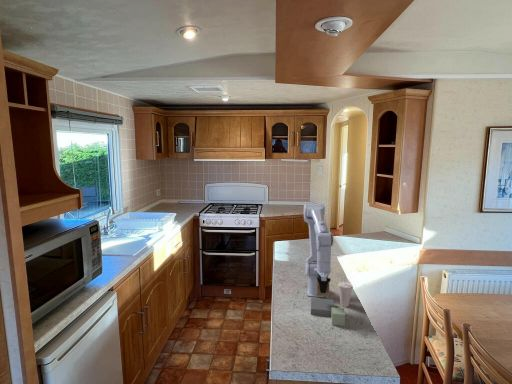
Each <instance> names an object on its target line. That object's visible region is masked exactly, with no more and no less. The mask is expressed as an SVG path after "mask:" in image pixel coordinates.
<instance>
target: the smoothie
mask: <svg viewBox="0 0 512 384" xmlns="http://www.w3.org/2000/svg"><path fill="white" fill-rule="evenodd" d="M337 287H338V293H339V303H340V306H341V307H342V308H347V307H349V306H350V302H351V295H352V290H353V287H354V286H353V284H352V283H351V282H348V281H346V274H344V275H343V281H339V282H338V283H337Z"/></svg>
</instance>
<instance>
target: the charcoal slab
mask: <svg viewBox="0 0 512 384" xmlns="http://www.w3.org/2000/svg"><path fill="white" fill-rule="evenodd" d="M310 299H311V301H310V315H312V316H322V315H323V317H331V311H332V307H334V308H335V301H334V299H331V298H330V299H327V298H320V297H311V298H310Z"/></svg>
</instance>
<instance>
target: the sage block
mask: <svg viewBox="0 0 512 384" xmlns="http://www.w3.org/2000/svg"><path fill="white" fill-rule="evenodd" d="M345 311H346V310H345V307H335V306H334V307H332V311H331V316H330V317H331V318H330V319H331V325H332V326H338V325H339V326H340V327H345V326H346V313H345Z"/></svg>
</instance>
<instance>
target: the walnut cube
mask: <svg viewBox="0 0 512 384" xmlns="http://www.w3.org/2000/svg"><path fill="white" fill-rule="evenodd" d="M317 295H319V296H324V297H330V283H329V284H328V286H327V290H326V293H321V292H320V286H319V283H318V281H317Z"/></svg>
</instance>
